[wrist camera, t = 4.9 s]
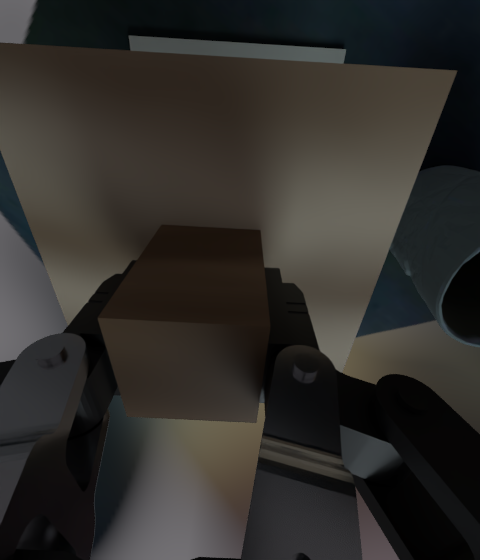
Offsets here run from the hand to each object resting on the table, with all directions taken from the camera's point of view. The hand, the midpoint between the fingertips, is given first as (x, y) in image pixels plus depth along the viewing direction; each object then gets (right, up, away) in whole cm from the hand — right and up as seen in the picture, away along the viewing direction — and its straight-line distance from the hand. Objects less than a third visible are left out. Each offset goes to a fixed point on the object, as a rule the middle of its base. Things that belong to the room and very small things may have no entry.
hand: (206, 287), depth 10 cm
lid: (0, +1, +2) cm, 2 cm away
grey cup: (+18, +6, +16) cm, 25 cm away
